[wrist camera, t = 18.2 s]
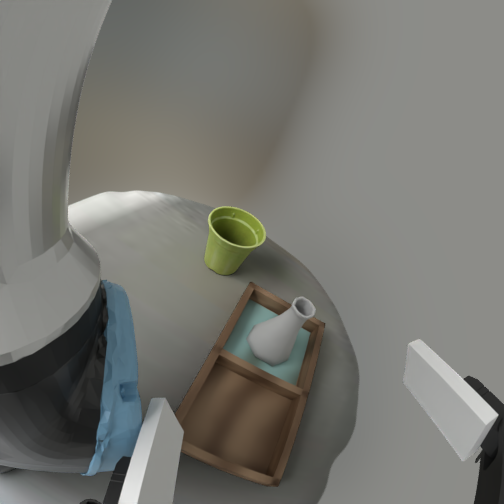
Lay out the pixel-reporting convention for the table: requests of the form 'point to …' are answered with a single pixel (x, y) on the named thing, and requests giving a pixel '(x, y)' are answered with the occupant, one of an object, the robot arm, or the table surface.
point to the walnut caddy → (249, 396)
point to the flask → (280, 332)
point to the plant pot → (231, 238)
